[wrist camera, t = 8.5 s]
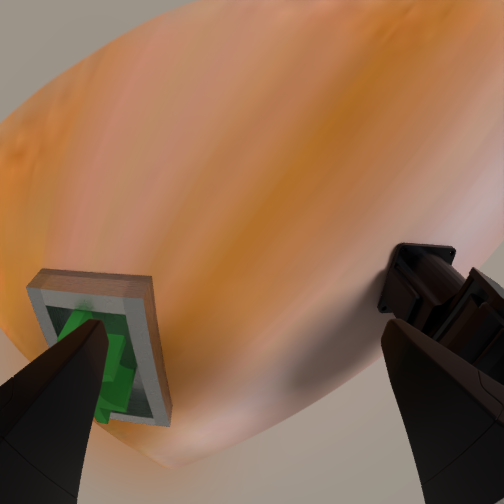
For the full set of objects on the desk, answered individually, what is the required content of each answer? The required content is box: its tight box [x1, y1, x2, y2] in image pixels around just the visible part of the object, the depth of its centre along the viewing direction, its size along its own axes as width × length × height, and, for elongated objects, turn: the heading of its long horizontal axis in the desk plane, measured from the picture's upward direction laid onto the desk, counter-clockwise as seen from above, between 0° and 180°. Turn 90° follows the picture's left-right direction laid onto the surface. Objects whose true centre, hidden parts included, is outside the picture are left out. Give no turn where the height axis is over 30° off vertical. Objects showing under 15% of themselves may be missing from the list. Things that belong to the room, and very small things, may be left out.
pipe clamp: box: [56, 309, 135, 424], centre depth 22 cm, size 11×4×5 cm, turn 175°
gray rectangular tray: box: [26, 269, 172, 427], centre depth 23 cm, size 10×17×3 cm, turn 175°
